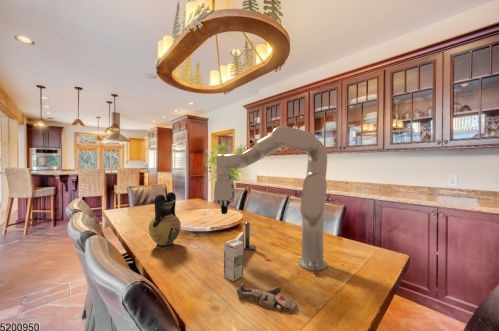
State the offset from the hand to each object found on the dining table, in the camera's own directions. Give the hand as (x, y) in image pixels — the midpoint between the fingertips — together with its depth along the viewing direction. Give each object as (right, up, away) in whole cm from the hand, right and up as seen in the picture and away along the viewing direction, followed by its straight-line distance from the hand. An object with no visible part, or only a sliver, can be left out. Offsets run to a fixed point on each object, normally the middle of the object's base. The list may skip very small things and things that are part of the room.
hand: (224, 213), depth 117 cm
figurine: (+19, -22, -40) cm, 49 cm away
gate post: (+13, -21, +7) cm, 25 cm away
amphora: (-35, -21, +12) cm, 42 cm away
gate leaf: (+7, -20, 0) cm, 21 cm away
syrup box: (+6, -21, -23) cm, 32 cm away
